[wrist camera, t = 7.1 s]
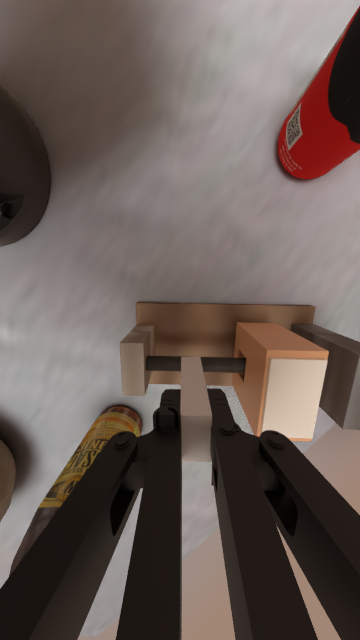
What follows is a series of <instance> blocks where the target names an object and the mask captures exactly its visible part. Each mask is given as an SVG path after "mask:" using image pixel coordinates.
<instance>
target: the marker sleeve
mask: <svg viewBox="0 0 360 640" xmlns="http://www.w3.org/2000/svg"><path fill="white" fill-rule="evenodd" d="M328 354H329V351H327V350H325V349H324V348H322V347H320V346H318V345H316V344H314V343H312V342H310V341H308V340H307V339H305V338H303V337H301V336H299V335H297V334H295V333H293V332H291V331H290V330H288V329H286V328H284V327H282V326H280V325H278V324H276V323H242V322H237V326H236V338H235V351H234V358H246V367H245V373H233V375H232V385H233V387H234V390H235V392H236V394H237V396H238V399H239V401H240V403H241V406H242V408H243V410H244V412H245V415H246V417H247V419H248V421H249V424H250V426H251V428H252V431H253V433H254V435H255V436H259V437H260V435H261V433H262V432H264V431H266V430H273V431H277V432H279V433H281V434H283V435H285V436H286V437H287V438H288V439H289V440H290V441H311V440H312V438H313V433H314V428H315V422H316V417H317V412H318V407H319V402H320V397H321V392H322V387H323V382H324V377H325V372H326V367H327V361H328V360H327V359H328Z"/></svg>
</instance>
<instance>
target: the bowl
mask: <svg viewBox="0 0 360 640" xmlns="http://www.w3.org/2000/svg"><path fill="white" fill-rule="evenodd" d="M15 476H16V467H15V461H14V458H13V456H12V454H11V452H10V450H9V448H8V447H7V446H6V445H5V444H4V442H2V441H1V440H0V522H1V520H2V518H3V516H4V515H5V513H6V511H7V510H8V508H9V506H10V503H11V498H12V494H13V490H14V485H15Z"/></svg>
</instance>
